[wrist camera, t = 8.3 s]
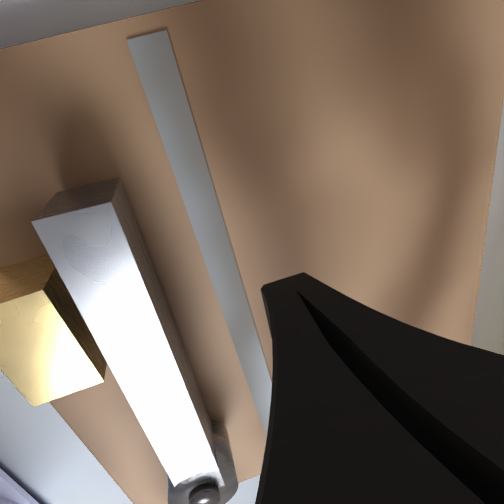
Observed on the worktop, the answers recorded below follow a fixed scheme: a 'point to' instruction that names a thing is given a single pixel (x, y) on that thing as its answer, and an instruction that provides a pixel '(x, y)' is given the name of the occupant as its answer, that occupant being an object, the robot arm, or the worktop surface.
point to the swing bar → (137, 335)
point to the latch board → (263, 177)
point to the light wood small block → (44, 334)
